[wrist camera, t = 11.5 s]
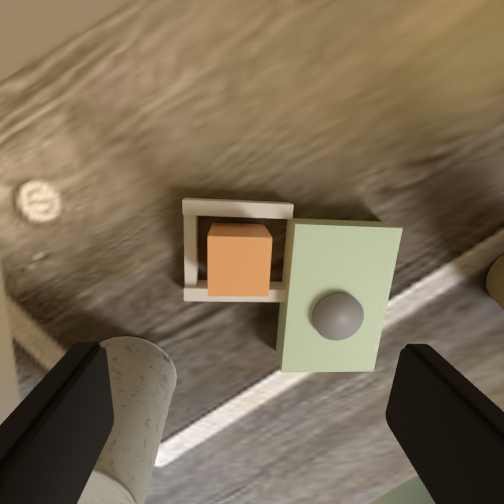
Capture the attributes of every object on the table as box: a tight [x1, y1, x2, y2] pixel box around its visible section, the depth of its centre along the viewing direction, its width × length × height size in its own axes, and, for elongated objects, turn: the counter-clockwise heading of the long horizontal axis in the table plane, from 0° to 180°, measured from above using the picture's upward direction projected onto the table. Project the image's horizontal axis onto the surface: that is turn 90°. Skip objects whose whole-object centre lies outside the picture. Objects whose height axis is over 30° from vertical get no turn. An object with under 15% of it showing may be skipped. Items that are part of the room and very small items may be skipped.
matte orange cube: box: [208, 223, 272, 297], centre depth 22 cm, size 5×5×6 cm
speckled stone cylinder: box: [77, 336, 177, 504], centre depth 22 cm, size 10×10×12 cm
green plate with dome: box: [182, 198, 403, 372], centre depth 25 cm, size 15×18×4 cm
